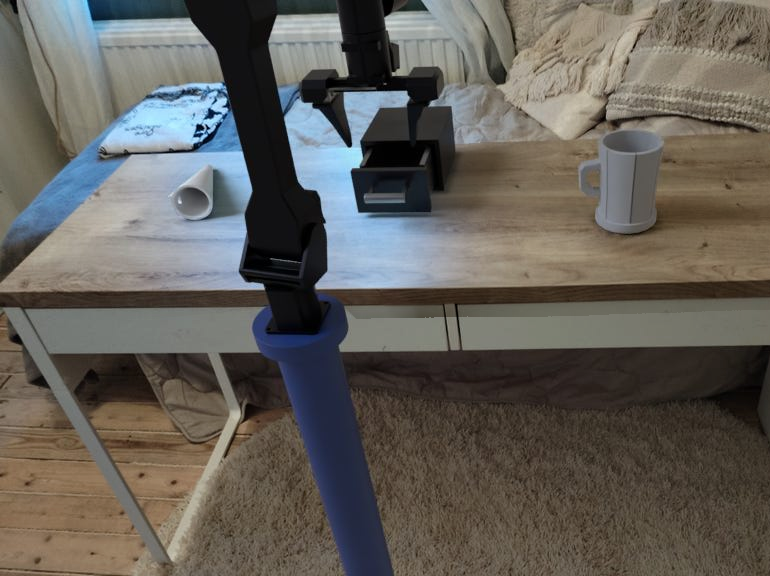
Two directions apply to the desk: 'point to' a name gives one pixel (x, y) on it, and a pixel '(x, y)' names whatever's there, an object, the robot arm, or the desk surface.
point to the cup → (625, 179)
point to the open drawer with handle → (395, 179)
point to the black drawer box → (432, 130)
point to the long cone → (194, 195)
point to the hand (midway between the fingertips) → (381, 146)
